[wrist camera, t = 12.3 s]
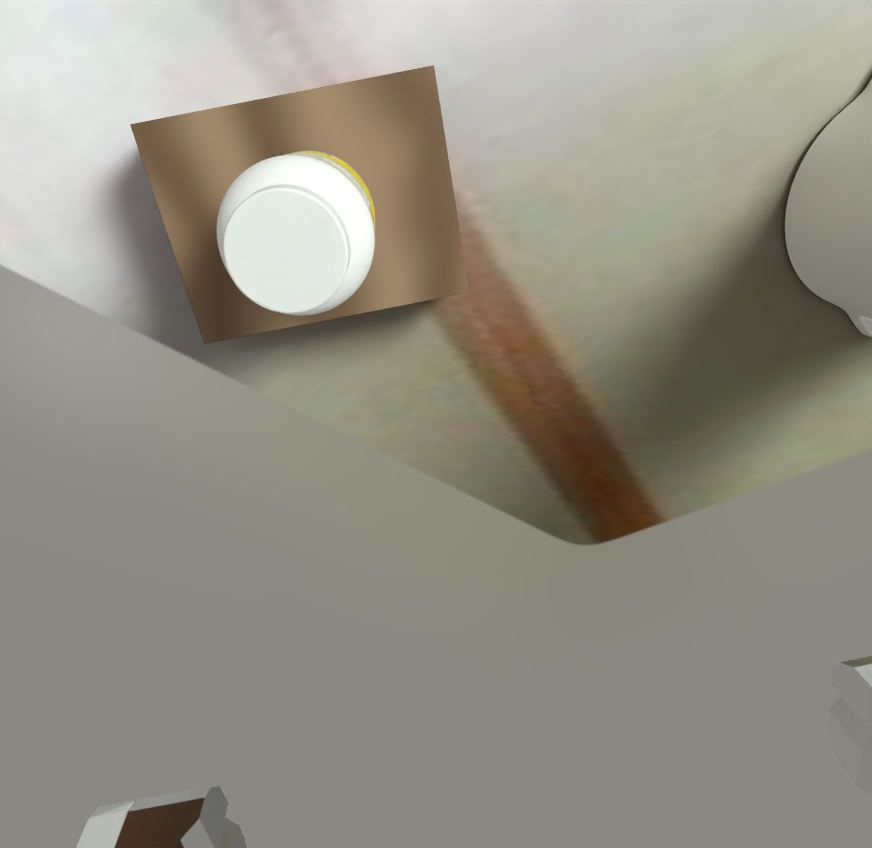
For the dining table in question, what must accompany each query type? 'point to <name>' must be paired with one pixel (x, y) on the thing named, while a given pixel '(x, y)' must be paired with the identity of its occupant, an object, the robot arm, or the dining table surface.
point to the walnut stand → (325, 132)
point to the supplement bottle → (297, 232)
